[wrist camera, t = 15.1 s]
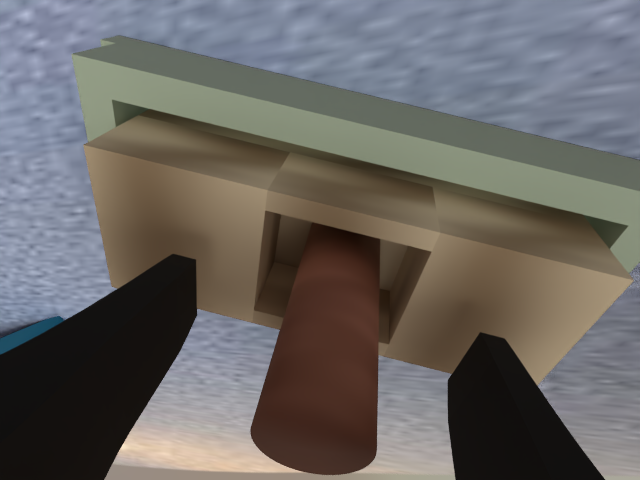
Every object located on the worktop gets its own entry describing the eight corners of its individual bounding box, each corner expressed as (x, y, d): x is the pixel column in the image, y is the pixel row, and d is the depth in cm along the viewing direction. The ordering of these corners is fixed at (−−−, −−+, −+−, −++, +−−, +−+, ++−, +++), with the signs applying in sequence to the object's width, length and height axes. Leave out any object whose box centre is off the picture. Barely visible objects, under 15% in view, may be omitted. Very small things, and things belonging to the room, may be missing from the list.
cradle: (648, 162, 12) (710, 208, 10) (525, 324, 17) (547, 382, 15) (118, 35, 13) (54, 50, 10) (141, 227, 17) (100, 268, 15)
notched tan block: (572, 200, 12) (634, 280, 9) (501, 305, 15) (529, 393, 12) (162, 101, 13) (83, 144, 10) (170, 222, 16) (111, 286, 12)
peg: (392, 220, 12) (398, 432, 7) (364, 273, 14) (350, 486, 8) (321, 196, 12) (265, 390, 6) (301, 252, 13) (240, 453, 8)
